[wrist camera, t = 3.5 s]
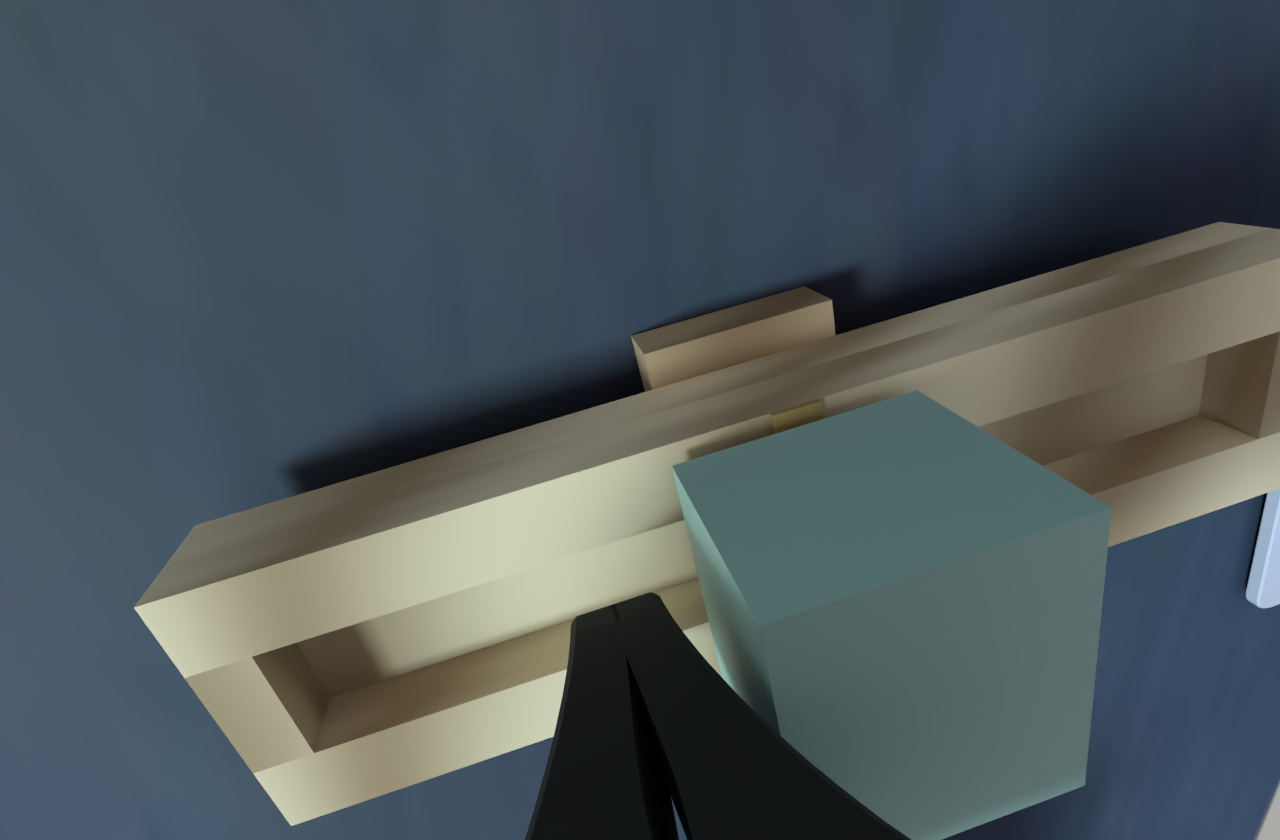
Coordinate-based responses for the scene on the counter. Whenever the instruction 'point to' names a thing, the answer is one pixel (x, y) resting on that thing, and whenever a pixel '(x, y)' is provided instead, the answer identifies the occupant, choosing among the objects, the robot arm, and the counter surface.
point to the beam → (651, 510)
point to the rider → (906, 607)
